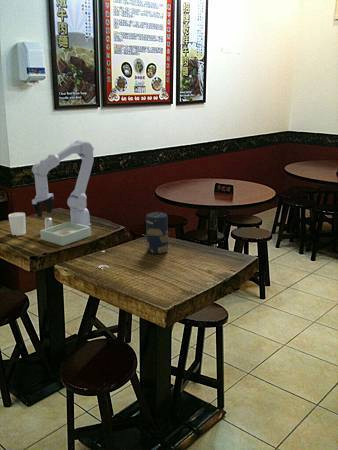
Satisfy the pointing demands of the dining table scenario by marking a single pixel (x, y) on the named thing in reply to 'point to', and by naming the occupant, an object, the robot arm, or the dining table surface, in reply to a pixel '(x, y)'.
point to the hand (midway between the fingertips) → (44, 214)
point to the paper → (102, 265)
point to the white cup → (17, 223)
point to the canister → (157, 232)
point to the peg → (48, 222)
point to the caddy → (65, 233)
